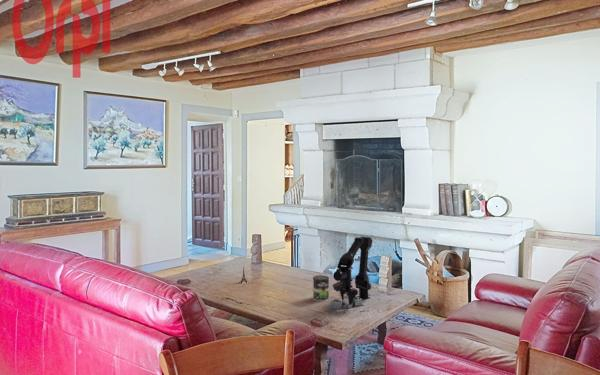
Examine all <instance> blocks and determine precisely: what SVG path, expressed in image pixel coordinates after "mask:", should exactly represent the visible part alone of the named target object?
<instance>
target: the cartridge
mask: <svg viewBox="0 0 600 375" xmlns="http://www.w3.org/2000/svg"><path fill="white" fill-rule="evenodd" d="M343 298H344V300H343V301H344V305H349V300H348V296H347V295H346V294H344V296H343Z"/></svg>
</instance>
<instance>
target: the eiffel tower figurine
mask: <svg viewBox="0 0 600 375" xmlns="http://www.w3.org/2000/svg"><path fill="white" fill-rule="evenodd" d="M240 282H241V284H240V285H243V284H242V282H246V283H247V282H248V280H247V279H246V275H245V266H243V269H242V278H241V280H240Z"/></svg>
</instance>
